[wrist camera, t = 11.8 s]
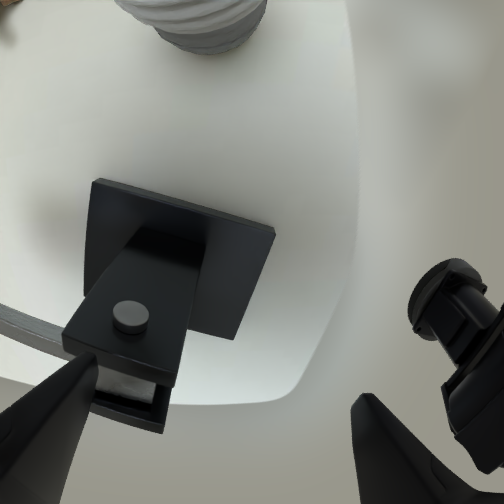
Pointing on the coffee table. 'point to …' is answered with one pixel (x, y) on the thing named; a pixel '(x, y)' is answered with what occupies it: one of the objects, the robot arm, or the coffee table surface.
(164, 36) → the light bulb
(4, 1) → the dinosaur figurine
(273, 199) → the coffee table surface
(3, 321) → the lever
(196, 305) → the bracket
